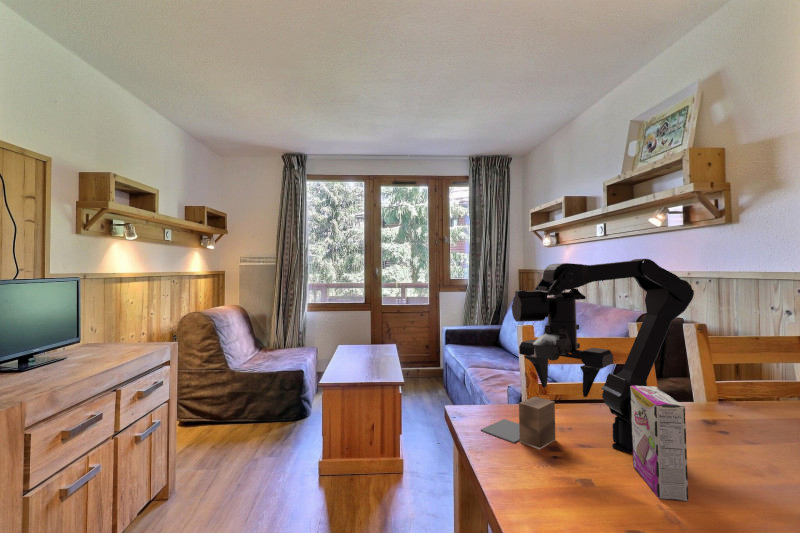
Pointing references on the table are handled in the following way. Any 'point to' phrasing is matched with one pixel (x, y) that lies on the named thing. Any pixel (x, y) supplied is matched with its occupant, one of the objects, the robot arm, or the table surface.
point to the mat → (504, 430)
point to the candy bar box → (659, 442)
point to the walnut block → (537, 422)
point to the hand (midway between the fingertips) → (564, 391)
